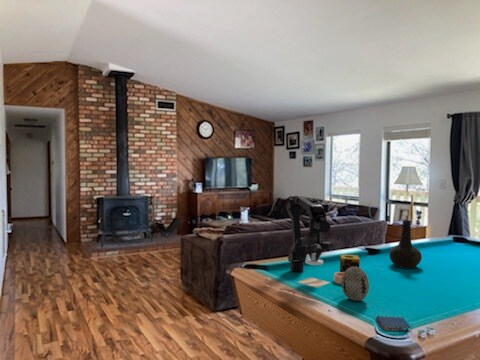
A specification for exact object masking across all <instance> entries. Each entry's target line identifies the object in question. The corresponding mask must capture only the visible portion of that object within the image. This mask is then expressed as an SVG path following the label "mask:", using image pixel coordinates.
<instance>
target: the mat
mask: <svg viewBox="0 0 480 360" xmlns="http://www.w3.org/2000/svg"><path fill="white" fill-rule="evenodd" d="M297 283H298V284H303V285H305V286H310V287H313V288H316V289H317V288H320V287H322V286H325V285H327V284H330V283H331V282H330V281H326V280H322V279H318V278H315V277H307V278H304V279H301V280H299V281H297Z"/></svg>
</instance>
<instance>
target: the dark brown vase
mask: <svg viewBox="0 0 480 360" xmlns="http://www.w3.org/2000/svg"><path fill="white" fill-rule="evenodd" d="M401 225H402V227H401V229H402V230H401V236H400V239H399V242H398V244H397V245H395V246H393V247H392V248H391V249H390V250H389V260H390V262H392V264H393V265H395V266H396V267H399V268H403V269H404V268H405V269H414V268H417V266H418V265H419V264H420V263H421V262H422V257H423V256H422V253H421V251H420V250H419V249H418V248H416V247H414V245H413V244H412V234H411V231H412V230H411V229H412V228H411V225H413V223H412V220H409V219H405V220H402V224H401Z"/></svg>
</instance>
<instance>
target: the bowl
mask: <svg viewBox="0 0 480 360" xmlns="http://www.w3.org/2000/svg"><path fill="white" fill-rule="evenodd" d="M344 273H345V272H340V271H336V272H334V273H333V281H334V283H335V284H338V285H342V277H343V275H344Z"/></svg>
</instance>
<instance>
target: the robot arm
mask: <svg viewBox="0 0 480 360" xmlns="http://www.w3.org/2000/svg"><path fill="white" fill-rule="evenodd" d="M303 209H304V210H305V211H306V214H307V215H308V218H307V219H308V221H309V225H308V226H309V227H308V231H307V233H306V235H305V236H303V237H302V231H301V218H300V217H301V215H302V213H303ZM286 211H287V215H288V216H289V217H290V221H291V224H290V225H291V233H292V235H291V236H292V246H291V247H290V253H289V255H288V256H287V261H288V262H290V270H289V271H288V273H289V272H292V273H295V274H296V273H298V274H302V273H304V263H305V260H306V259H307V256H308V255H309V259H311V258H312V253H314V252H315V253H316V261H318V259H320V257H321V255H322V254H323V251H324V250H327V251H328V250H333V249H334V243H333V242H331V241H324V242H323V239H322V238H321V237H322V235H321V234H323V233H324V234H327V233H329V232H330V231H331V230H330V229H331V224H330V222H328V219H327V214H326V212H325V208H324V206H323V205H322V204H319V203H314V202H311V201H310V200H309V199H307V198H306V197H305V196H302V195H300V196H295V197H294V198H293V199H291V200H289V201H288V203H287V204H286ZM315 246H316V247H315ZM307 253H308V255H307Z"/></svg>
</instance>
